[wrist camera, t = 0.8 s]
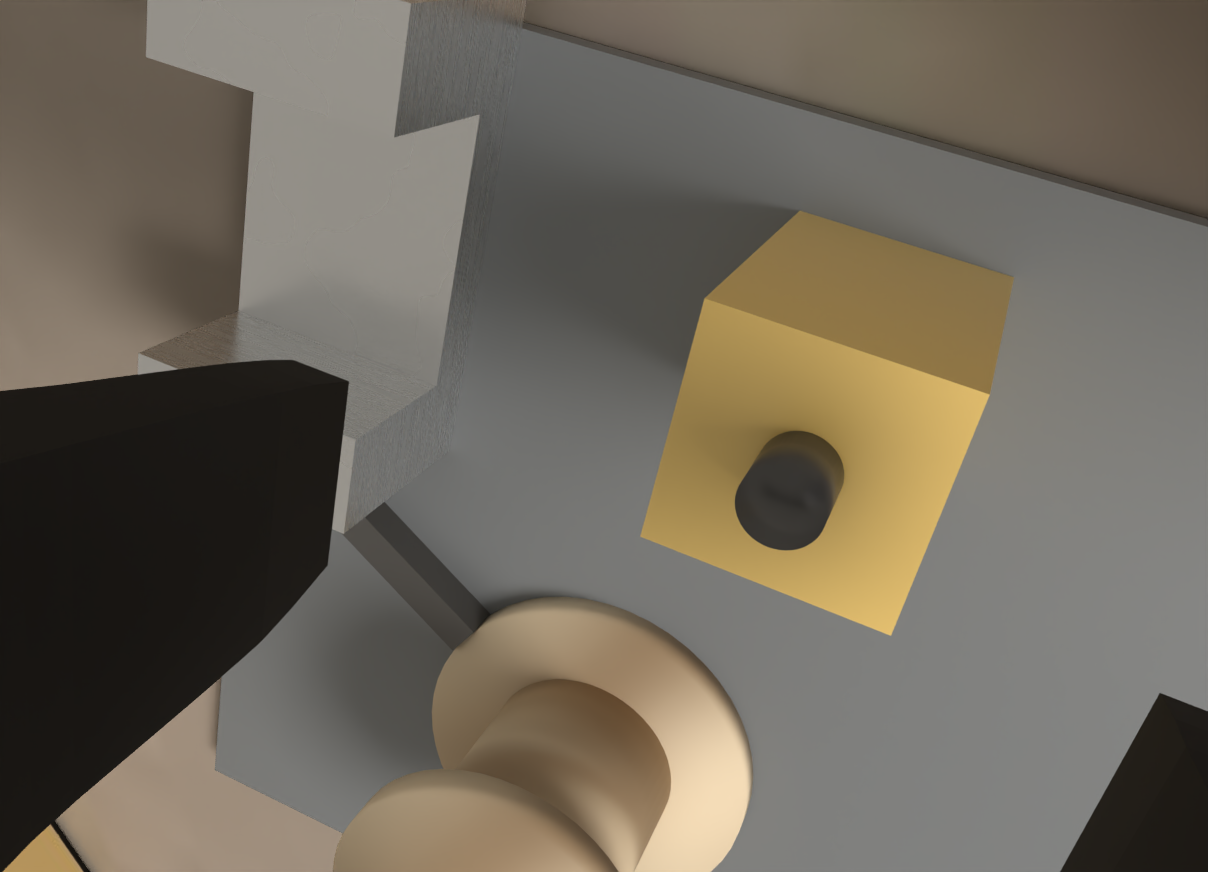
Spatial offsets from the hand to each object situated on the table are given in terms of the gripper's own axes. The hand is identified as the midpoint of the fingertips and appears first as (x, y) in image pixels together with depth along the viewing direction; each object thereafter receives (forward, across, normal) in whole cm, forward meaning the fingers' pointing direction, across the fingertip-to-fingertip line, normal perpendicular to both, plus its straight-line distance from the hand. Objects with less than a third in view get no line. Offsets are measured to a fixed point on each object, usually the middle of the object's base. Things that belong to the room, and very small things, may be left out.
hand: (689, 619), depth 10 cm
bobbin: (+9, +2, +10) cm, 13 cm away
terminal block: (+9, +8, +1) cm, 12 cm away
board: (+9, +2, +6) cm, 11 cm away
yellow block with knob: (+9, 0, 0) cm, 9 cm away
